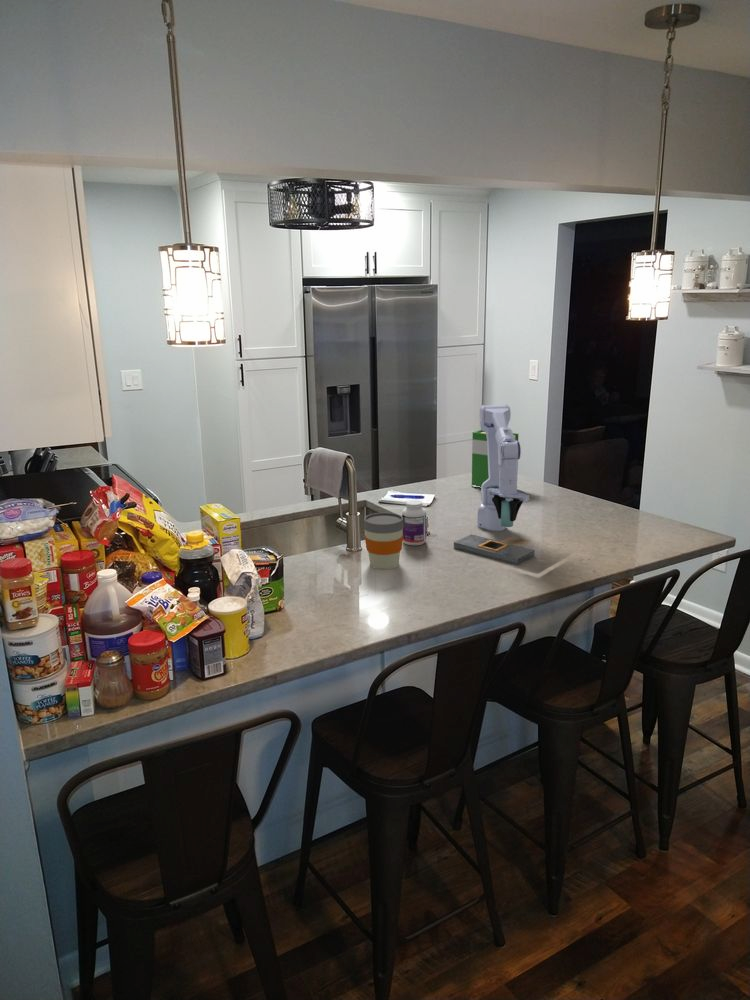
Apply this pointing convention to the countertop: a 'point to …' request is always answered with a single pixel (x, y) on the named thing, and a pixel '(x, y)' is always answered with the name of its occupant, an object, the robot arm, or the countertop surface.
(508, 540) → the brown square coaster
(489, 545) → the grey peg hole board
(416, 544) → the pill bottle
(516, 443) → the robot arm
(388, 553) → the reusable coffee cup
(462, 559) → the countertop surface
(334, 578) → the countertop surface
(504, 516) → the peg
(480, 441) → the hardback book
